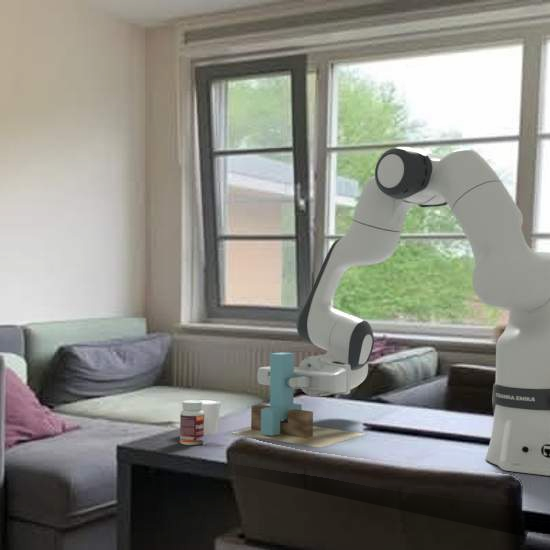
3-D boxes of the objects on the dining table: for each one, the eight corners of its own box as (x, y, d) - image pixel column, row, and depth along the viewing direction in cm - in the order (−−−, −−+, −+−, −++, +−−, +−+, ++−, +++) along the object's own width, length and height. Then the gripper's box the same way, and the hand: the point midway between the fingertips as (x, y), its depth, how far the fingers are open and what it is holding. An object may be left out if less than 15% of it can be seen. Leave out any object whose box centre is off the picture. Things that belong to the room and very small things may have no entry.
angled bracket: (301, 428, 165) (302, 352, 165) (272, 435, 157) (273, 355, 157) (290, 426, 167) (290, 351, 167) (260, 433, 159) (261, 354, 159)
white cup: (200, 430, 171) (200, 398, 171) (226, 433, 168) (226, 400, 168) (181, 435, 165) (181, 402, 165) (208, 439, 162) (208, 405, 162)
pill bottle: (199, 446, 155) (200, 403, 155) (176, 444, 156) (177, 402, 156) (206, 441, 160) (207, 400, 160) (184, 440, 161) (184, 399, 161)
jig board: (366, 441, 162) (366, 409, 162) (319, 455, 148) (320, 421, 148) (280, 427, 175) (281, 398, 175) (231, 439, 161) (231, 408, 161)
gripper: (279, 358, 178) (240, 362, 167) (356, 364, 166) (320, 370, 155) (279, 385, 178) (240, 392, 167) (356, 394, 166) (319, 402, 155)
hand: (279, 381), depth 161 cm, fingers open, 3 cm apart
